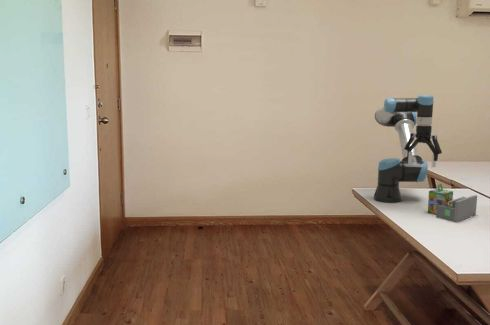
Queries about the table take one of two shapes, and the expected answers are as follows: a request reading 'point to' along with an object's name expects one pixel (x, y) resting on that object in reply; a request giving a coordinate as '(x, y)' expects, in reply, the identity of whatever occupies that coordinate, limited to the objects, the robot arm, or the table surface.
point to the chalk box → (438, 199)
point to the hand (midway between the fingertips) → (421, 165)
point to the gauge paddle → (452, 202)
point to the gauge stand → (458, 209)
